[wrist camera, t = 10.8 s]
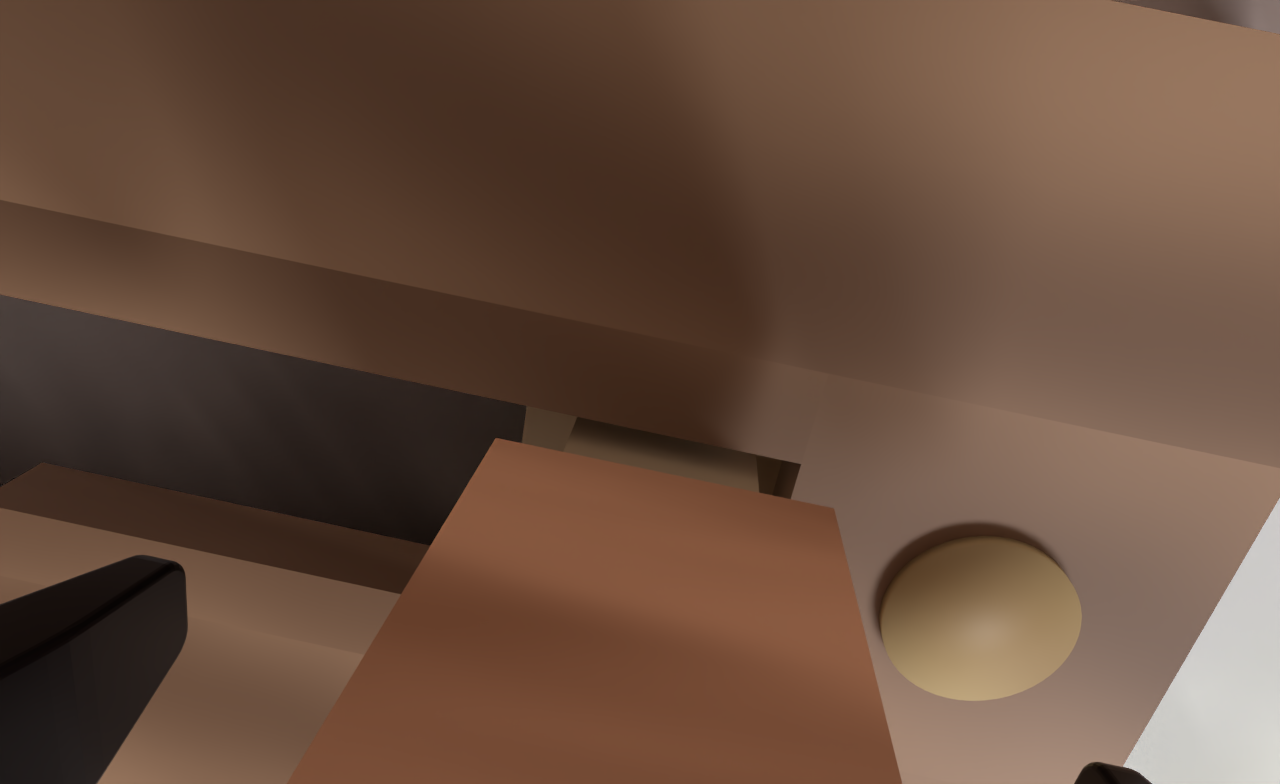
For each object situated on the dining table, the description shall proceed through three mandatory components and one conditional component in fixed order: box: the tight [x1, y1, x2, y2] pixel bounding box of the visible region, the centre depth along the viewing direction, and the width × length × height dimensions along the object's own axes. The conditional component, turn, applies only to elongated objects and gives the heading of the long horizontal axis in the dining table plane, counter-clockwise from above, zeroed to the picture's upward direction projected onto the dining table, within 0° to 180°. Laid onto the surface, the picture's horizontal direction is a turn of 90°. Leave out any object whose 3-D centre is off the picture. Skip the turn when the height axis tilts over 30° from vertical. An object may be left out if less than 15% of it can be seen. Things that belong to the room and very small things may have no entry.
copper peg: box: [287, 406, 902, 784], centre depth 9 cm, size 4×4×10 cm
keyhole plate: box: [0, 0, 1280, 784], centre depth 12 cm, size 14×26×4 cm, turn 79°
